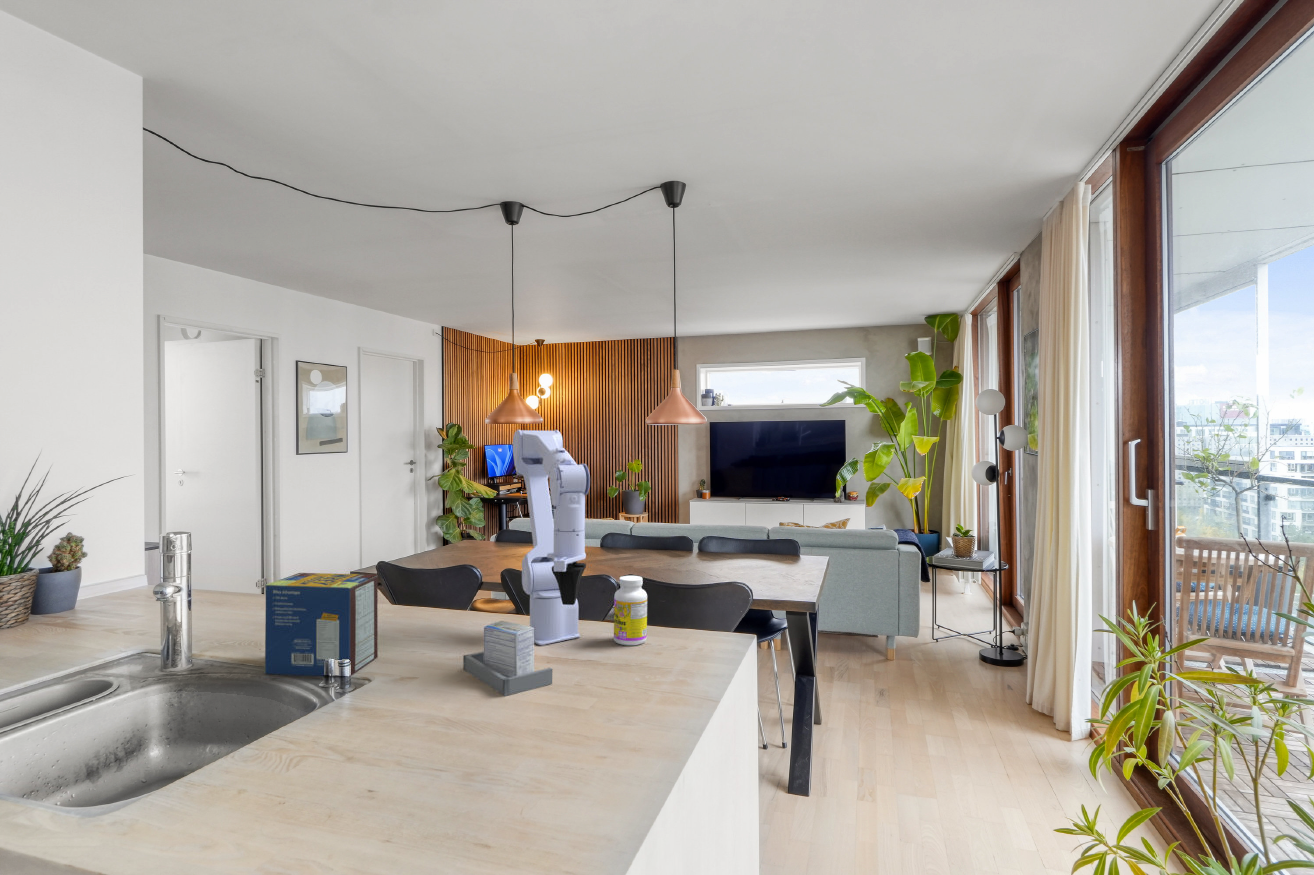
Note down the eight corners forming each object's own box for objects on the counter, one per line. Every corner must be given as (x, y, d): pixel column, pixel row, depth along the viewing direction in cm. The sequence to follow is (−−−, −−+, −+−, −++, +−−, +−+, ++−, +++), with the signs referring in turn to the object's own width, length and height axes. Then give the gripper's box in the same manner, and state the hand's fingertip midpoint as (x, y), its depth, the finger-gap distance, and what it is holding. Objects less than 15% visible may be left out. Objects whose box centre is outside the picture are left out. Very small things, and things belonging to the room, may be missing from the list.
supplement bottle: (608, 639, 141) (609, 575, 141) (637, 634, 144) (638, 573, 144) (622, 648, 135) (622, 582, 135) (652, 643, 138) (653, 579, 138)
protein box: (298, 655, 129) (298, 572, 129) (378, 657, 128) (379, 573, 128) (262, 674, 118) (263, 584, 118) (350, 677, 118) (350, 586, 117)
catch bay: (508, 659, 127) (508, 646, 127) (552, 683, 115) (552, 668, 115) (463, 669, 122) (463, 655, 122) (504, 696, 110) (504, 680, 110)
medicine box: (534, 677, 119) (535, 626, 118) (516, 685, 115) (516, 633, 115) (501, 668, 123) (501, 619, 123) (482, 675, 119) (483, 625, 119)
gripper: (558, 524, 135) (557, 594, 135) (536, 534, 121) (536, 612, 120) (593, 525, 134) (593, 595, 134) (576, 535, 120) (576, 614, 120)
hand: (568, 603), depth 127 cm, fingers closed
